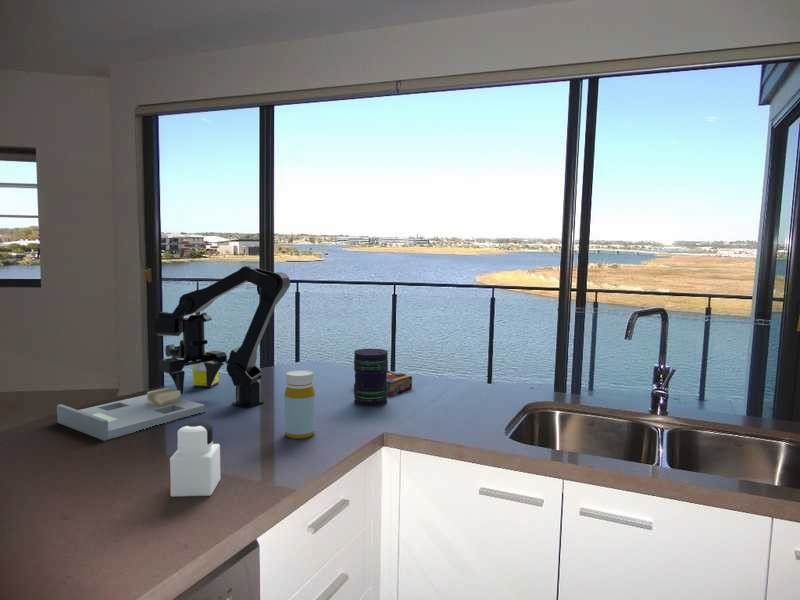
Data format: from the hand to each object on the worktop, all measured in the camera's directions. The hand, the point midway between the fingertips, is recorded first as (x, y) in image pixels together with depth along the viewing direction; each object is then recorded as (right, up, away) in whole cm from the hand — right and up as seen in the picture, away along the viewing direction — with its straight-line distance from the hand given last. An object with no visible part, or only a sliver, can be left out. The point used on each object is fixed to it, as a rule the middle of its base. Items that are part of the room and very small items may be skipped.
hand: (194, 390), depth 155 cm
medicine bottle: (+21, -9, -56) cm, 60 cm away
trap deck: (-10, -4, -14) cm, 18 cm away
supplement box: (-3, -2, +19) cm, 19 cm away
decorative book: (+54, -3, +18) cm, 57 cm away
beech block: (-5, -2, -8) cm, 10 cm away
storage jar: (+50, -4, +2) cm, 51 cm away
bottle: (+35, -6, -26) cm, 44 cm away
